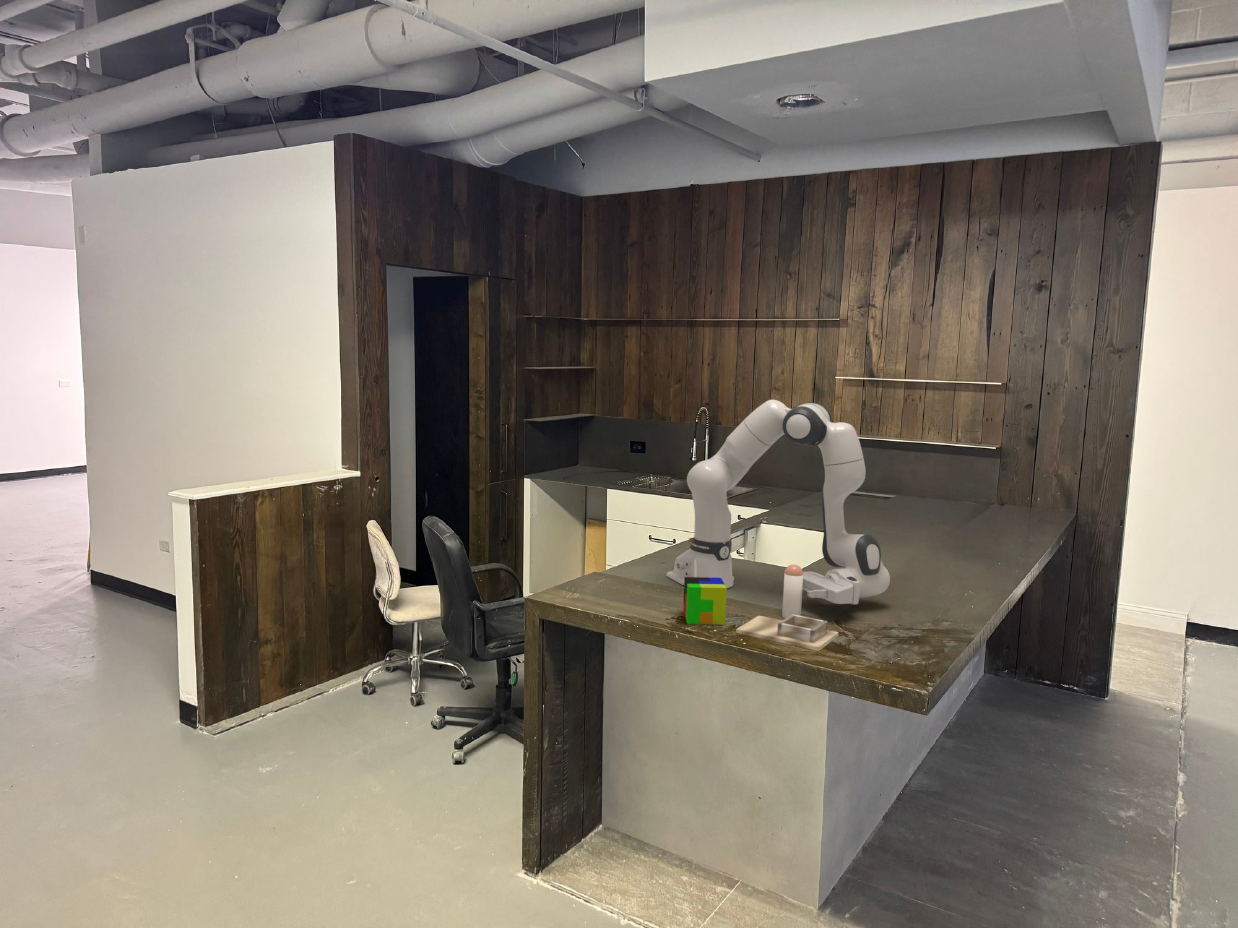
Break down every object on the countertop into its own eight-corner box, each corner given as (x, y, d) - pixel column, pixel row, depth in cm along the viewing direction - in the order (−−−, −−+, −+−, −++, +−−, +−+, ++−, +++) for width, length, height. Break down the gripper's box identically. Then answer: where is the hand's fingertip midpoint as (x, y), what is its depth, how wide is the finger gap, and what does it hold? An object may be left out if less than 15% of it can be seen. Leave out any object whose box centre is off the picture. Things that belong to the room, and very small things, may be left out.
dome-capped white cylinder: (778, 615, 234) (781, 563, 232) (791, 612, 237) (794, 561, 235) (791, 620, 230) (794, 567, 228) (804, 617, 233) (807, 565, 231)
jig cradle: (736, 632, 218) (736, 617, 218) (758, 619, 230) (759, 604, 230) (818, 651, 207) (819, 635, 206) (838, 635, 218) (839, 620, 218)
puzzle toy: (719, 612, 235) (720, 577, 233) (725, 624, 225) (726, 587, 224) (683, 612, 234) (684, 576, 233) (687, 624, 225) (688, 587, 223)
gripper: (815, 564, 248) (776, 568, 242) (863, 583, 230) (822, 587, 224) (814, 585, 249) (775, 590, 243) (862, 605, 230) (820, 611, 225)
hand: (798, 589), depth 233 cm, fingers open, 8 cm apart
